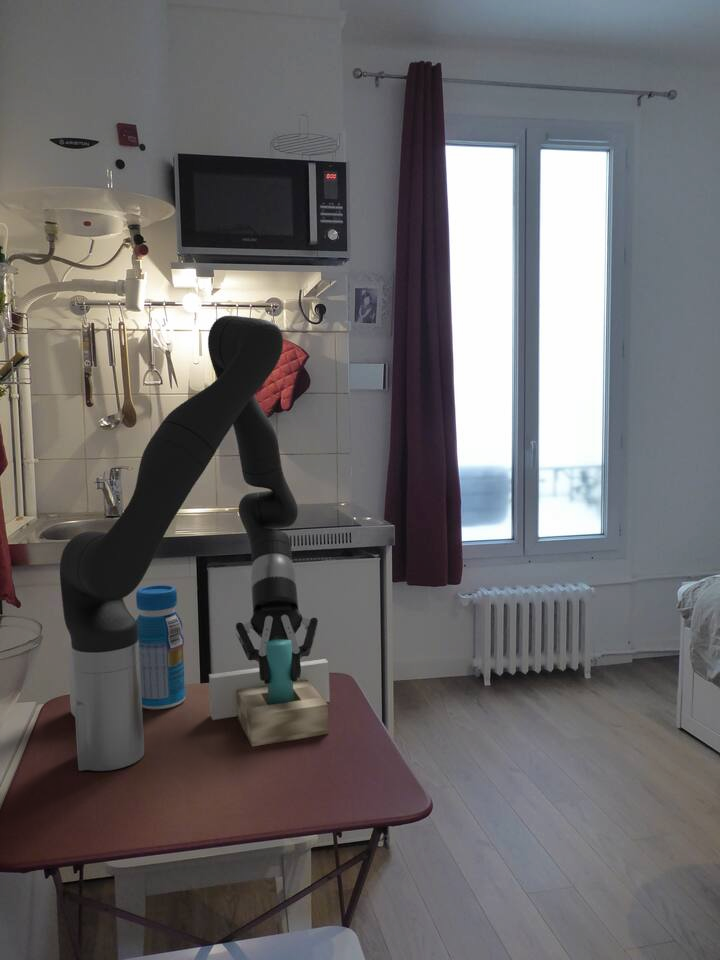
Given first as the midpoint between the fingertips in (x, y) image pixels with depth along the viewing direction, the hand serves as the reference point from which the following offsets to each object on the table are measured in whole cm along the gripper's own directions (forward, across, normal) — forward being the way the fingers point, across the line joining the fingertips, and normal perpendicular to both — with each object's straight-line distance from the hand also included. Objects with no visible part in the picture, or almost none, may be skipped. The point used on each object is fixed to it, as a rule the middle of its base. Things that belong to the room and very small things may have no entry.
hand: (281, 680), depth 123 cm
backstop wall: (-1, -1, +12) cm, 12 cm away
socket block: (+5, 0, +7) cm, 9 cm away
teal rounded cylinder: (+2, 0, +5) cm, 5 cm away
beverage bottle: (-6, -20, +18) cm, 27 cm away
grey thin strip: (-5, -31, +16) cm, 35 cm away
